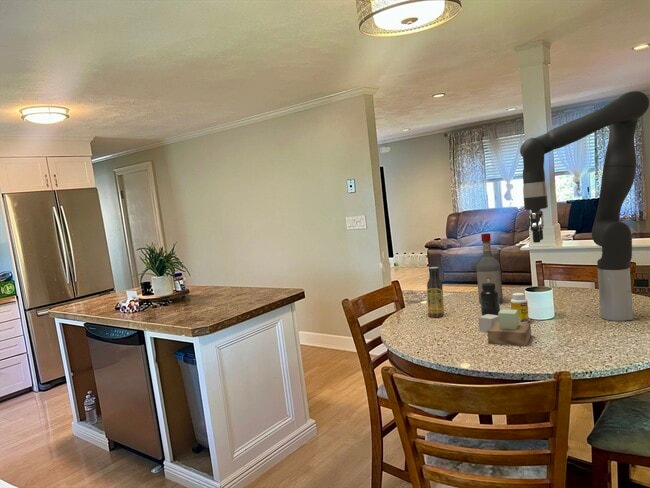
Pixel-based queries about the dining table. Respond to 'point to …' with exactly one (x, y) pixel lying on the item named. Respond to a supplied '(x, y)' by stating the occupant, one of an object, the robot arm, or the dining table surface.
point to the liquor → (488, 268)
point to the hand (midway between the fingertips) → (538, 241)
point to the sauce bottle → (435, 294)
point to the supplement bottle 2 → (520, 306)
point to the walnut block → (509, 334)
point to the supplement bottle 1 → (489, 299)
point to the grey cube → (487, 321)
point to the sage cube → (508, 319)
